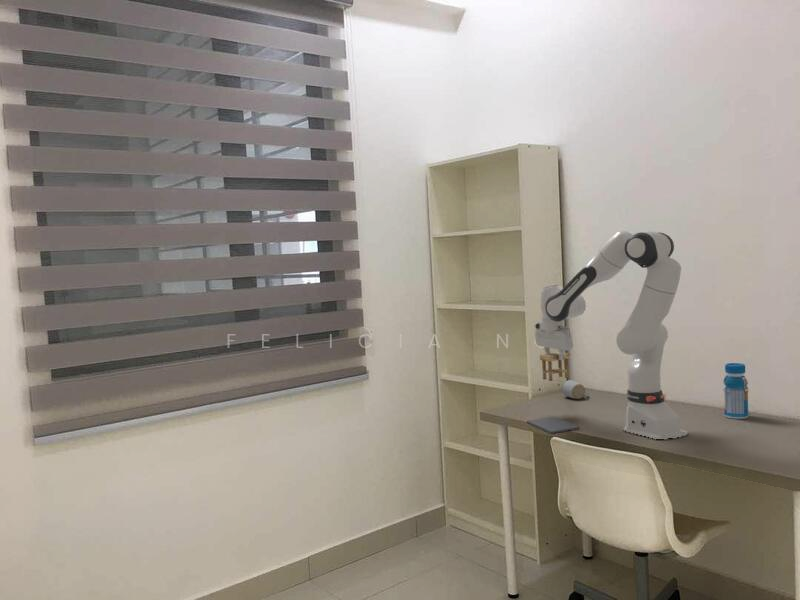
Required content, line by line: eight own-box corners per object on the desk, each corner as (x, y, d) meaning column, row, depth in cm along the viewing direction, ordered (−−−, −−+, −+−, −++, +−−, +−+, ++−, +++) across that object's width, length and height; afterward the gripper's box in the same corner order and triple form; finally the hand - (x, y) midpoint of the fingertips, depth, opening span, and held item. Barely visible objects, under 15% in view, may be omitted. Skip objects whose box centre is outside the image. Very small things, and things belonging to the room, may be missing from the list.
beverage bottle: (731, 420, 239) (729, 367, 238) (719, 414, 248) (718, 363, 246) (753, 418, 239) (752, 365, 238) (741, 413, 248) (739, 361, 246)
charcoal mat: (579, 429, 240) (579, 427, 240) (551, 433, 236) (550, 431, 236) (553, 418, 257) (553, 416, 257) (526, 422, 253) (526, 420, 253)
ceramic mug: (572, 400, 284) (572, 383, 284) (562, 397, 292) (561, 380, 291) (592, 398, 288) (592, 381, 287) (581, 394, 295) (581, 378, 295)
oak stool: (561, 375, 267) (559, 352, 267) (570, 377, 262) (569, 353, 261) (541, 379, 263) (539, 355, 263) (550, 381, 258) (548, 356, 257)
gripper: (575, 326, 253) (577, 360, 254) (544, 322, 272) (546, 355, 273) (562, 327, 251) (564, 362, 251) (531, 324, 269) (533, 357, 270)
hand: (554, 358), depth 262 cm, fingers closed on oak stool, 6 cm apart
